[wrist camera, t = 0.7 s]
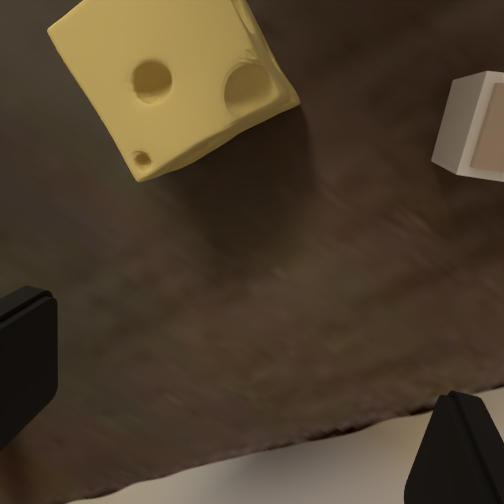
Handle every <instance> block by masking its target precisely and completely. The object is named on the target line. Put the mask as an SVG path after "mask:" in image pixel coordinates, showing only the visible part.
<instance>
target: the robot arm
mask: <svg viewBox="0 0 504 504" xmlns="http://www.w3.org/2000/svg"><path fill="white" fill-rule="evenodd" d="M57 386H58V339H57V301H56V299H55V298H53V295H52V293H51V292H50V291H48V290H44V289H40V288H36V287H32V286H24V287H22V288H20V289H18V290H16V291H14V292H12V293H10V294H9V295H7V296H5V297H3V298H1V299H0V451H1V450H2V449H3V448H4V447H5V446H6V445H7V444H8V443H9V442H10V441H11V440H12V439H13V438H14V437H15V436H16V435H17V434H18V433H19V432H20V431H21V430H22V429H23V428H24V427H25V426H26V425H27V424H28V423H29V422H30V421H31V420H32V419H33V418H34V417H35V416H36V415H37V414H38V413H39V412H40V411H41V410H42V409H43V408H44V407H45V406H46V405H47V404H48V403H49V402H50V401H51V400H52V399H53V397H54V396H55V394H56V391H57ZM404 504H504V442H503V440H502V438H501V436H500V434H499V432H498V430H497V428H496V426H495V424H494V422H493V420H492V418H491V417H490V414H489V412H488V410H487V409H486V406H485V404H484V402H483V401H482V399H481V398H479V397H477V396H473V395H468V394H464V393H460V392H456V391H450V392H449V393H448V395H447V396H445V395H440V396H439V398H438V400H437V402H436V405H435V408H434V410H433V413H432V416H431V418H430V421H429V424H428V426H427V429H426V431H425V434H424V437H423V439H422V442H421V445H420V448H419V450H418V453H417V455H416V458H415V461H414V463H413V466H412V468H411V471H410V474H409V476H408V479H407V482H406V485H405V490H404Z"/></svg>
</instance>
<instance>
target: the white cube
mask: <svg viewBox="0 0 504 504" xmlns="http://www.w3.org/2000/svg"><path fill="white" fill-rule="evenodd" d="M431 161H432V162H434V163H435V164H437V165H439V166H441V167H443V168H445V169H447V170H448V171H450V172H452V173H454V174H456V175H461V176H468V177H475V178H481V179H488V180H495V181H501V182H504V73H502V72H493V71H484V72H481V73H477V74H473V75H470V76H466V77H462V78H459V79H455V80H453V82H452V85H451V89H450V93H449V96H448V100H447V104H446V107H445V111H444V115H443V118H442V122H441V126H440V130H439V133H438V137H437V141H436V144H435V148H434V152H433V155H432V159H431Z"/></svg>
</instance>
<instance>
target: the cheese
mask: <svg viewBox="0 0 504 504" xmlns="http://www.w3.org/2000/svg"><path fill="white" fill-rule="evenodd" d="M47 31H48V34H49V36H50V38H51V40H52V42H53V43H54V45H55V47H56V49H57V50H58V52H59V54H60V55H61V57H62V59H63V60H64V62H65V64H66V65H67V67H68V69H69V70H70V72H71V73H72V75H73V76H74V78H75V79H76V81H77V82H78V84H79V85H80V87H81V88H82V90H83V91H84V93H85V94H86V96H87V97H88V99H89V100H90V102H91V103H92V105H93V106H94V108H95V109H96V111H97V113H98V114H99V116H100V117H101V119H102V121H103V122H104V124H105V126H106V127H107V129H108V131H109V132H110V134H111V136H112V138H113V139H114V141H115V143H116V145H117V147H118V149H119V150H120V152H121V154H122V156H123V158H124V160H125V162H126V164H127V165H128V167H129V169H130V171H131V173H132V174H133V176H134V178H135V179H136V181H137V182H143V181H147V180H150V179H153V178H157V177H159V176H161V175H163V174H165V173H169V172H172V171H175V170H178V169H181V168H183V167H185V166H187V165H189V164H191V163H193V162H195V161H197V160H198V159H200V158H202V157H203V156H205V155H207V154H208V153H210V152H212V151H213V150H215V149H217V148H218V147H220V146H221V145H223V144H225V143H226V142H228V141H229V140H231V139H232V138H233V137H235V136H236V135H237V134H239V133H241V132H243V131H245V130H247V129H249V128H251V127H253V126H255V125H257V124H259V123H262V122H264V121H265V120H267V119H269V118H271V117H273V116H275V115H277V114H279V113H282V112H284V111H286V110H289V109H291V108H294V107H296V106H298V105H299V104H300V99H299V97H298V94H297V93H296V91H295V90H294V88H293V87H292V85H291V84H290V82H289V81H288V80H287V78H286V77H285V75H284V74H283V72H282V71H281V69H280V67H279V65H278V64H277V62H276V60H275V58H274V56H273V54H272V52H271V50H270V48H269V46H268V44H267V42H266V40H265V38H264V36H263V34H262V32H261V30H260V28H259V26H258V24H257V22H256V20H255V18H254V16H253V14H252V12H251V9H250V7H249V5H248V3H247V1H246V0H83V1H82V2H81V3H80V4H78V5H77V6H76V7H75V8H73V9H72V10H71V11H70V12H68V13H67V14H66V15H65V16H64V17H62V18H61V19H60V20H58V21H57V22H56V23H55V24H53V25H52V26H51V27H50V28H48V30H47Z"/></svg>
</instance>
